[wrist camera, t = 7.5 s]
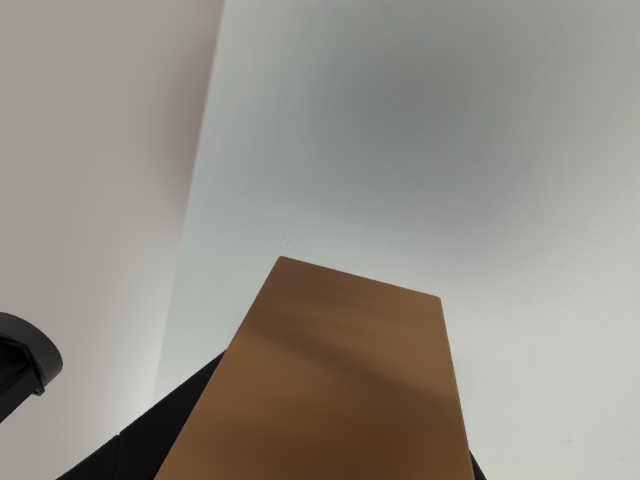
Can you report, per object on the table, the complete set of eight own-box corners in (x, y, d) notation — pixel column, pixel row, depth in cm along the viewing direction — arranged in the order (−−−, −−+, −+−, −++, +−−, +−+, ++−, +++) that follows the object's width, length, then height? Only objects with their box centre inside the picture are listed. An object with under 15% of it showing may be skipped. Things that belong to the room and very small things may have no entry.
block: (263, 362, 12) (124, 694, 6) (279, 253, 9) (74, 613, 3) (393, 399, 11) (392, 793, 5) (441, 296, 9) (535, 780, 3)
